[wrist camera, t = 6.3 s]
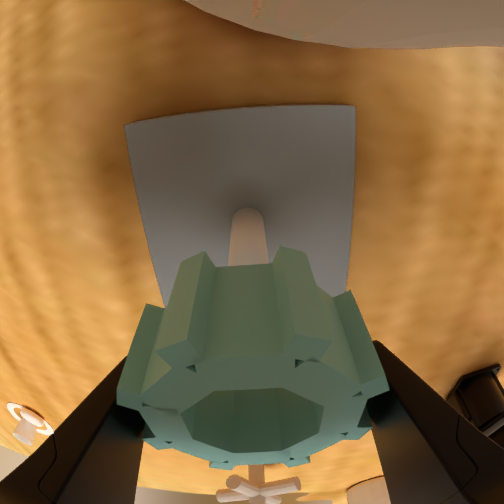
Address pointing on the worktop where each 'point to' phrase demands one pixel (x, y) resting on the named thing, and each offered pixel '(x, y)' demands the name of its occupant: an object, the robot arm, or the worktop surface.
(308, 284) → the teal gear
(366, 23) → the citrus juicer
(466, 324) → the worktop surface
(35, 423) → the teacup and saucer
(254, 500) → the pipe connector
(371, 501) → the soap bottle
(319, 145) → the gear board
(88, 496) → the robot arm
